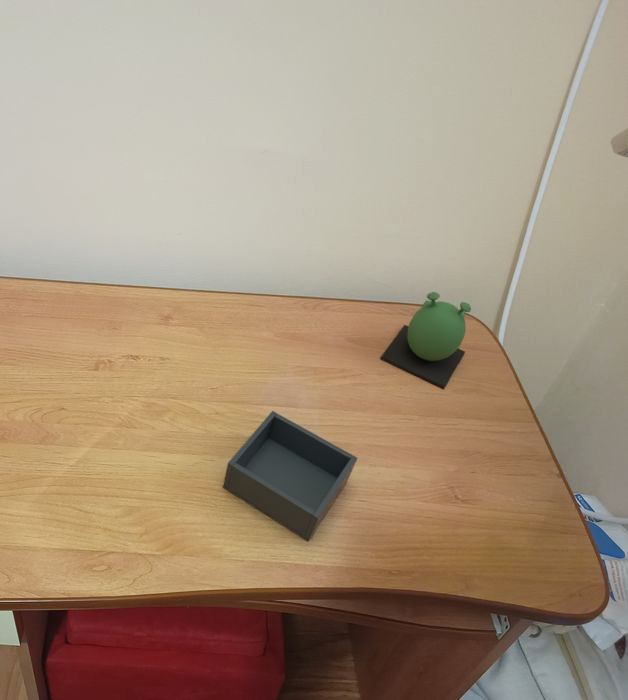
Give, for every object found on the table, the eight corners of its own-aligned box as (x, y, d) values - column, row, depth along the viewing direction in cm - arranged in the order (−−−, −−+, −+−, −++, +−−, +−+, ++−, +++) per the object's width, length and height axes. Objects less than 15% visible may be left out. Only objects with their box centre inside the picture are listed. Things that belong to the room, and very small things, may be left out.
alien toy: (454, 345, 89) (482, 289, 83) (447, 378, 84) (477, 322, 77) (404, 329, 91) (428, 273, 85) (395, 361, 86) (419, 304, 79)
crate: (347, 481, 71) (357, 457, 68) (308, 541, 65) (318, 518, 62) (265, 435, 76) (272, 410, 73) (222, 487, 70) (227, 462, 67)
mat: (464, 354, 89) (465, 351, 88) (443, 389, 83) (444, 386, 83) (403, 327, 92) (404, 324, 92) (380, 359, 87) (381, 356, 87)
